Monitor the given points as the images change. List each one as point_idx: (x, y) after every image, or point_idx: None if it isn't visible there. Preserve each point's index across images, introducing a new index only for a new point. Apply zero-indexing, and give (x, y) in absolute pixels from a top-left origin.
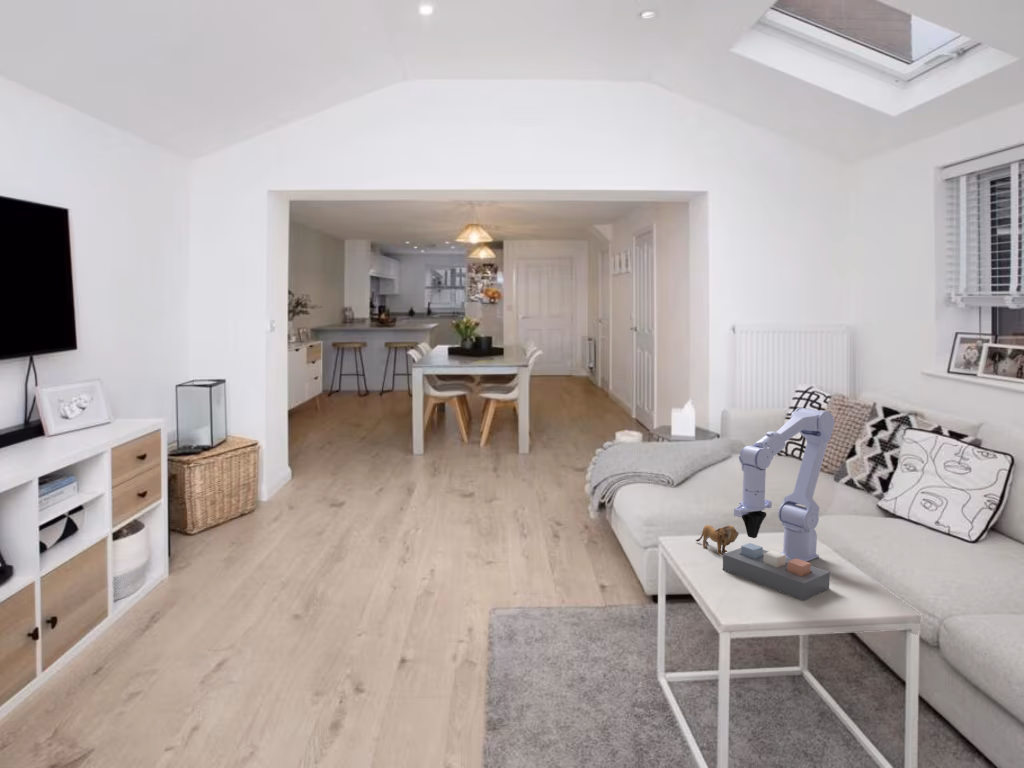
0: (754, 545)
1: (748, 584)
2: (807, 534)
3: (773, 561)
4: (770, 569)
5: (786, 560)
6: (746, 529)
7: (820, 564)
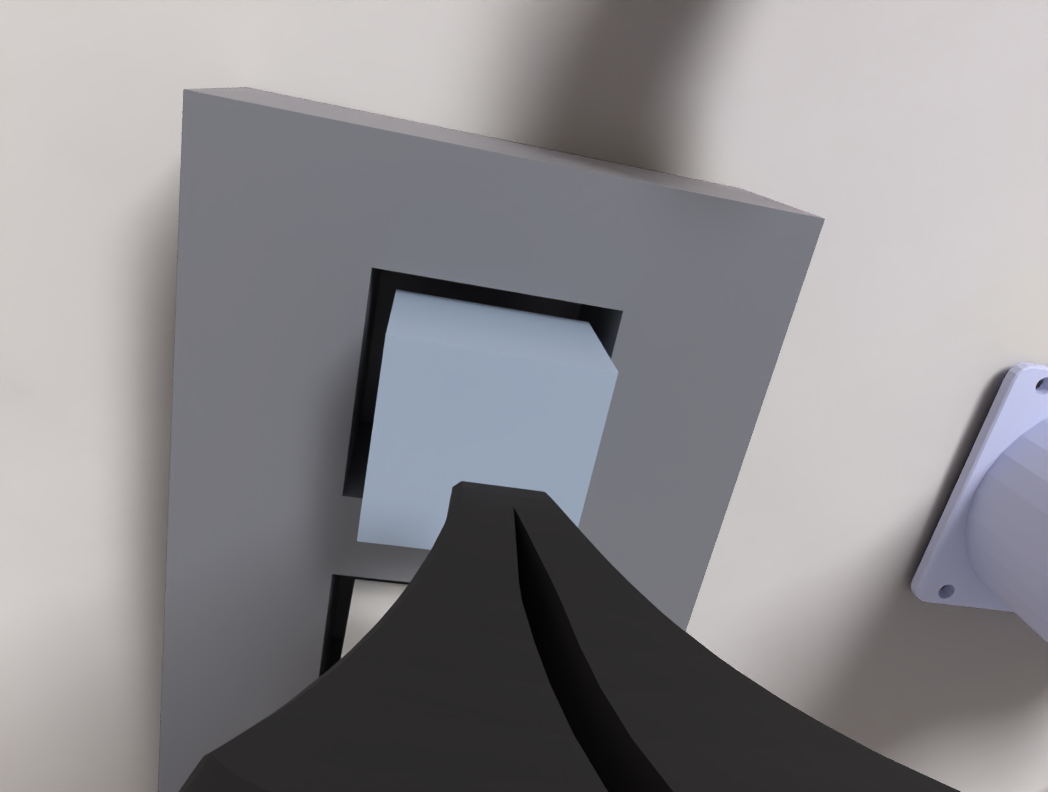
0: (551, 465)
1: (117, 468)
2: None
3: None
4: (205, 722)
5: None
6: (437, 541)
7: (987, 675)
